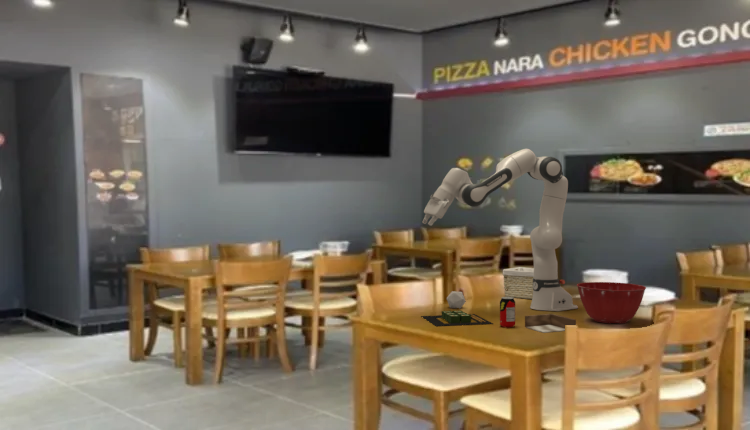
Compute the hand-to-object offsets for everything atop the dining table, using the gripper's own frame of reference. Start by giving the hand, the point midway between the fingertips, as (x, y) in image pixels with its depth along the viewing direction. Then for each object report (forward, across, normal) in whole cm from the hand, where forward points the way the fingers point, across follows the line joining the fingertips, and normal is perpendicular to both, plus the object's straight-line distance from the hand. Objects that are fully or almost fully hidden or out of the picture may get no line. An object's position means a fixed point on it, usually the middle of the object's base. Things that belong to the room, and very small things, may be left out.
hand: (426, 224), depth 358 cm
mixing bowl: (-6, -39, -81) cm, 90 cm away
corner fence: (+12, -50, -53) cm, 74 cm away
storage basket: (-1, +36, -79) cm, 87 cm away
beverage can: (+21, -40, -41) cm, 61 cm away
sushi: (+30, -21, -29) cm, 47 cm away
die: (+25, +11, -38) cm, 47 cm away
